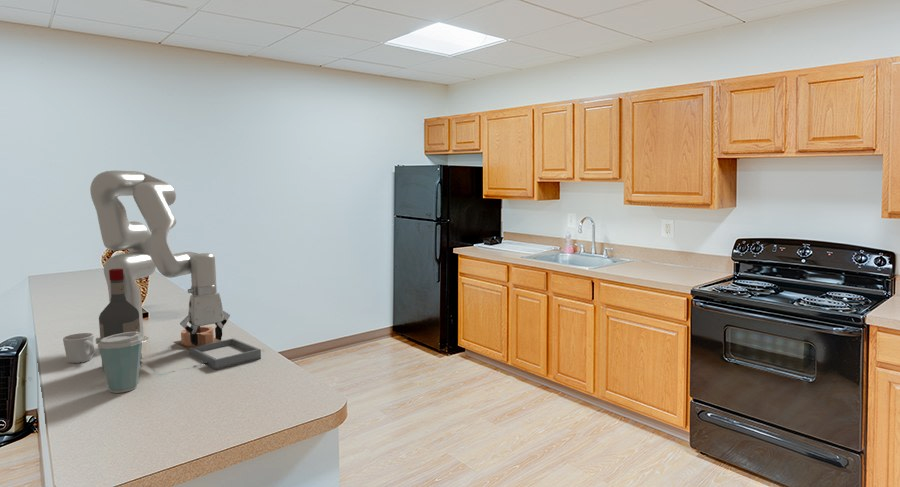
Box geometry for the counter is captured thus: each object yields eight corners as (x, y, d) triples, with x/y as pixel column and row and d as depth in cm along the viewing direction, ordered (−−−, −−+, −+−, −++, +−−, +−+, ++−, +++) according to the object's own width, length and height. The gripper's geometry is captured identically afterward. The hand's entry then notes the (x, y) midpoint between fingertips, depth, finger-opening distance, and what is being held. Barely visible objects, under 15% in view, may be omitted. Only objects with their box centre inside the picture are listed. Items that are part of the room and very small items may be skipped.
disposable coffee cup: (98, 399, 141) (94, 342, 140) (102, 385, 151) (99, 332, 149) (145, 391, 146) (141, 337, 144) (146, 379, 156) (143, 328, 154)
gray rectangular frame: (215, 369, 163) (215, 360, 163) (190, 356, 176) (189, 347, 175) (260, 358, 174) (260, 349, 174) (233, 346, 186) (233, 338, 186)
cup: (106, 360, 172) (104, 335, 172) (80, 367, 165) (78, 342, 164) (85, 355, 177) (83, 331, 176) (59, 362, 170) (57, 338, 169)
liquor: (144, 360, 172) (138, 266, 169) (132, 370, 163) (126, 271, 160) (112, 362, 171) (106, 267, 167) (99, 371, 162) (92, 272, 158)
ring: (194, 350, 179) (193, 338, 178) (177, 341, 188) (176, 330, 188) (224, 343, 186) (223, 332, 186) (206, 335, 195) (205, 325, 195)
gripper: (181, 295, 173) (184, 350, 175) (234, 288, 185) (236, 338, 187) (172, 292, 178) (175, 345, 180) (224, 285, 190) (226, 334, 192)
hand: (206, 341), depth 183 cm, fingers open, 7 cm apart
